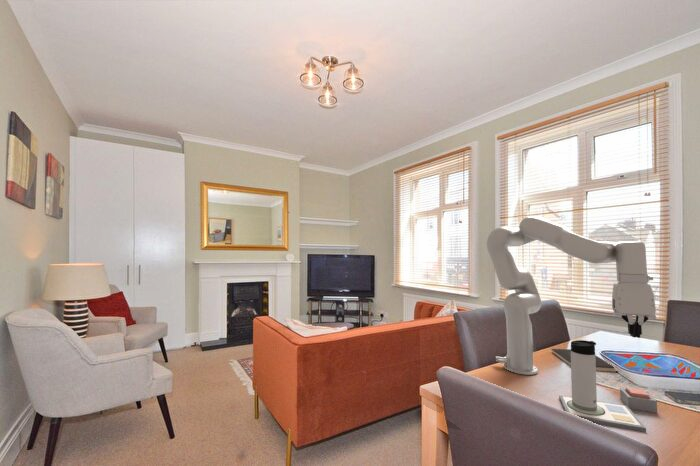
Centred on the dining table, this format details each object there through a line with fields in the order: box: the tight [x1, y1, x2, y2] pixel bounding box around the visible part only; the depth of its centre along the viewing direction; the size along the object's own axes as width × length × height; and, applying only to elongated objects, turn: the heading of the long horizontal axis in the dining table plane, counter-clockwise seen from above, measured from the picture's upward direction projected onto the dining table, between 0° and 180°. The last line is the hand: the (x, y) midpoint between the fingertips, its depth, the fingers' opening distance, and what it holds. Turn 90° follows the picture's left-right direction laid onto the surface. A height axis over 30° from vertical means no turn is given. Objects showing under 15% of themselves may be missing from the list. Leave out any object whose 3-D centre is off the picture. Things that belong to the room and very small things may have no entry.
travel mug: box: [570, 339, 598, 411], centre depth 101 cm, size 6×7×20 cm
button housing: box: [619, 387, 658, 413], centre depth 103 cm, size 7×7×4 cm
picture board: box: [558, 395, 647, 433], centre depth 98 cm, size 18×14×1 cm
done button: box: [625, 386, 649, 399], centre depth 103 cm, size 4×4×2 cm
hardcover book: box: [551, 348, 617, 373], centre depth 144 cm, size 16×23×2 cm
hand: (635, 336), depth 104 cm, fingers closed
